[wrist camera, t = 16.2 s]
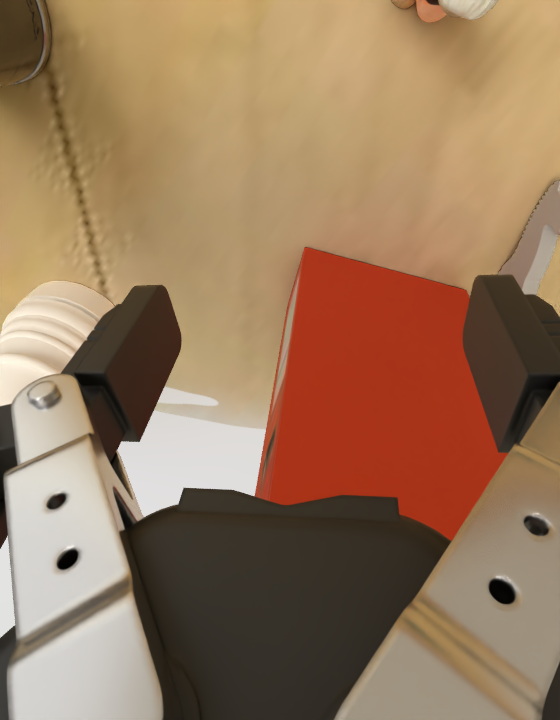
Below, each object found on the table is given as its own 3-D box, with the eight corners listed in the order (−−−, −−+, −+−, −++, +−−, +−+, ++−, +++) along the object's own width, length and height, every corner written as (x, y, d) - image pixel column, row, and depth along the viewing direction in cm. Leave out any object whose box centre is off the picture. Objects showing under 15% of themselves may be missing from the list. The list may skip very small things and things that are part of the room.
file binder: (305, 242, 42) (259, 571, 18) (467, 286, 43) (621, 647, 19) (287, 307, 48) (232, 626, 24) (430, 343, 49) (517, 683, 25)
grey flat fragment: (497, 273, 42) (555, 170, 35) (510, 275, 42) (571, 173, 35) (514, 305, 38) (584, 196, 31) (529, 308, 38) (602, 200, 31)
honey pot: (150, 334, 52) (84, 452, 39) (95, 376, 59) (22, 491, 45) (59, 260, 47) (-54, 368, 33) (9, 316, 53) (-103, 426, 40)
